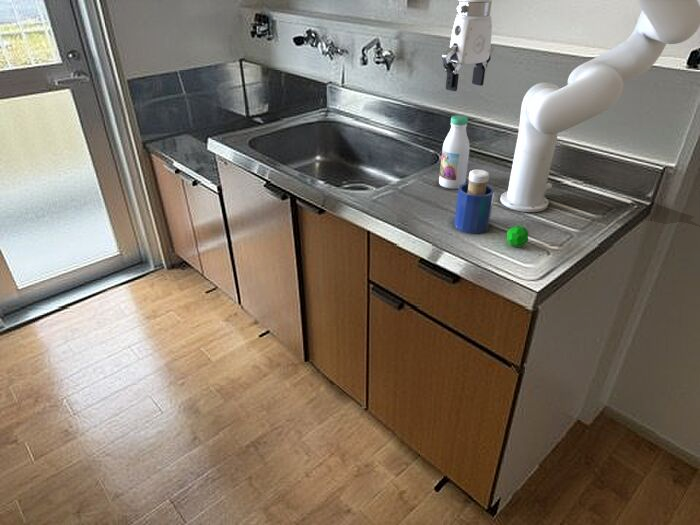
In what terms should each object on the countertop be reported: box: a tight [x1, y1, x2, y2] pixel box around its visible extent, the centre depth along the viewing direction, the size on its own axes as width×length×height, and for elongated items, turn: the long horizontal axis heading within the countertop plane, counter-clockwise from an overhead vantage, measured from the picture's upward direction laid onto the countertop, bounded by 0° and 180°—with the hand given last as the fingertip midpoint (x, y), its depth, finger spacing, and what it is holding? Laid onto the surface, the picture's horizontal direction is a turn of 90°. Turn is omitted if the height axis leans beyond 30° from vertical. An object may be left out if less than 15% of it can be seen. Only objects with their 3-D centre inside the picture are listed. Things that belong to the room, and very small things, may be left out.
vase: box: [453, 182, 495, 235], centre depth 122 cm, size 8×8×10 cm
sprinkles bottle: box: [467, 169, 490, 195], centre depth 121 cm, size 5×5×14 cm
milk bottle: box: [438, 114, 470, 190], centre depth 142 cm, size 8×8×20 cm
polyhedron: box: [506, 225, 529, 248], centre depth 115 cm, size 5×5×5 cm
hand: (464, 87), depth 122 cm, fingers open, 9 cm apart
